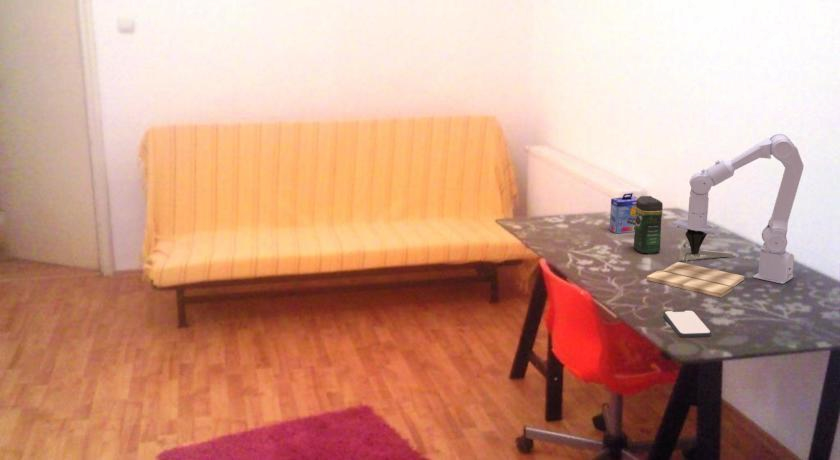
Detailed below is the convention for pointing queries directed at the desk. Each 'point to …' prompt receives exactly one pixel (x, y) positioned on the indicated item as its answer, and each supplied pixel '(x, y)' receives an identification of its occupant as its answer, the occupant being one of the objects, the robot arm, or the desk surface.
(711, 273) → the loose plank
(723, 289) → the laid strip
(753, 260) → the desk surface
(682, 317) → the smartphone with white screen
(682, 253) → the caliper
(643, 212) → the coffee jar
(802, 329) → the desk surface
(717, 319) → the desk surface
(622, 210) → the ink cartridge box
